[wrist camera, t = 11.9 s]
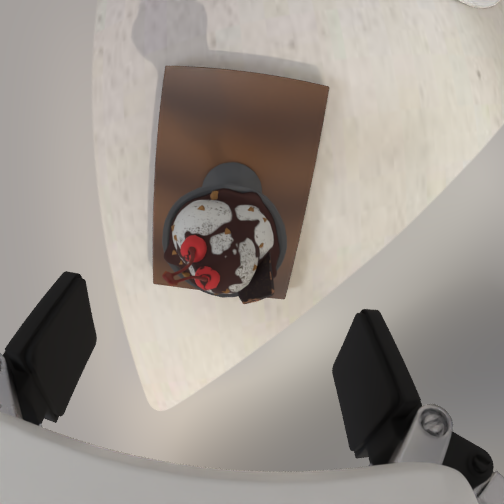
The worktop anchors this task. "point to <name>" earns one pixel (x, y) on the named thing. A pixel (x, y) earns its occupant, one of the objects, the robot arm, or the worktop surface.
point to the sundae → (225, 236)
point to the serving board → (237, 145)
